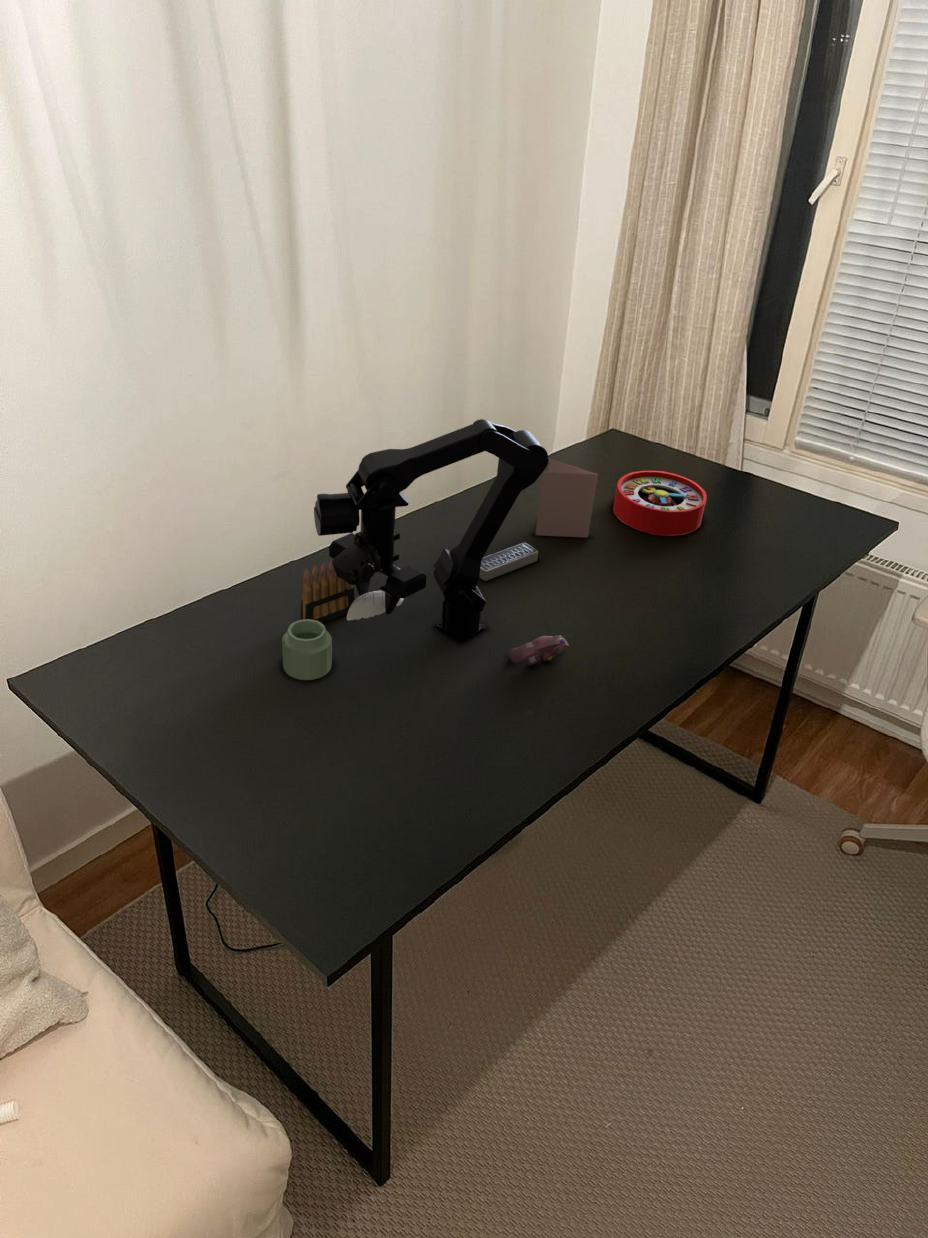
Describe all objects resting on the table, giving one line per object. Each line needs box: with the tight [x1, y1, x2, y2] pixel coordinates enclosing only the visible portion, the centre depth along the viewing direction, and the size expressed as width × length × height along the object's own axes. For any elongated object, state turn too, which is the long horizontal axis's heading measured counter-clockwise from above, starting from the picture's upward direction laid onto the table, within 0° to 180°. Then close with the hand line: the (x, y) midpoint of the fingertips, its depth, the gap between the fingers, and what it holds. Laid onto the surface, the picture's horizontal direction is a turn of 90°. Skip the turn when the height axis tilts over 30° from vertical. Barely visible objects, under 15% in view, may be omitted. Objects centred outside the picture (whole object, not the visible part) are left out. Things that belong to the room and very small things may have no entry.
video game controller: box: [508, 634, 570, 666], centre depth 176 cm, size 10×5×7 cm
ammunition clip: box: [300, 559, 356, 624], centre depth 181 cm, size 11×2×12 cm, turn 129°
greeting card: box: [535, 458, 599, 538], centre depth 212 cm, size 11×7×15 cm, turn 58°
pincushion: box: [346, 579, 405, 622], centre depth 174 cm, size 12×6×6 cm, turn 130°
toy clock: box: [612, 470, 708, 537], centre depth 225 cm, size 20×6×20 cm
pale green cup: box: [281, 619, 333, 681], centre depth 170 cm, size 8×8×8 cm
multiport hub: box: [479, 542, 539, 582], centre depth 203 cm, size 4×14×2 cm, turn 130°
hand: (375, 605), depth 175 cm, fingers closed on pincushion, 6 cm apart
